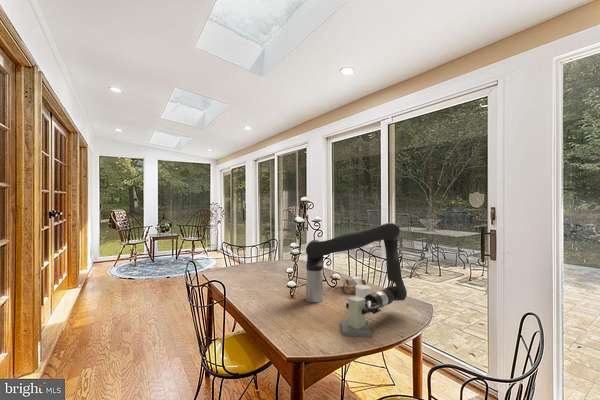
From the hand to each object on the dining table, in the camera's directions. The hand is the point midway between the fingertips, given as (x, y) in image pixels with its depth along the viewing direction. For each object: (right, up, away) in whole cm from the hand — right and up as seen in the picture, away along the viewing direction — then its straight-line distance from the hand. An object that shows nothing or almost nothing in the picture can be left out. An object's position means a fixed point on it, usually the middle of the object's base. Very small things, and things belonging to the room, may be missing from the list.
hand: (354, 309), depth 132 cm
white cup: (+10, -9, +30) cm, 33 cm away
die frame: (+11, -8, +56) cm, 58 cm away
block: (+1, -8, +2) cm, 8 cm away
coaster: (+1, -9, +1) cm, 10 cm away
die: (+11, -8, +56) cm, 58 cm away
